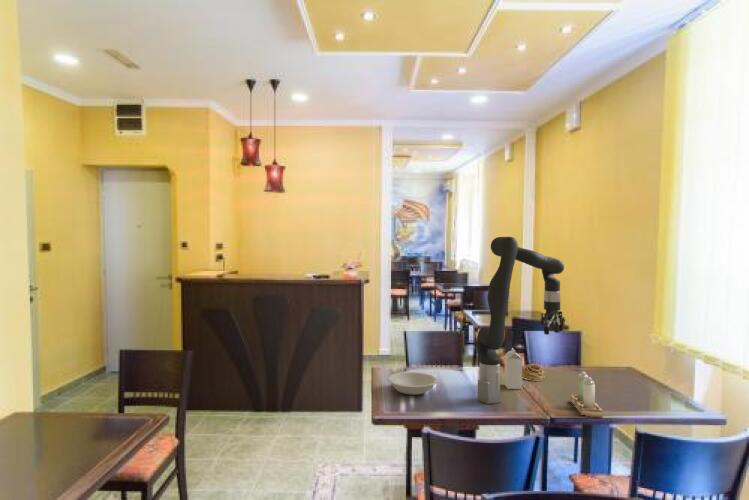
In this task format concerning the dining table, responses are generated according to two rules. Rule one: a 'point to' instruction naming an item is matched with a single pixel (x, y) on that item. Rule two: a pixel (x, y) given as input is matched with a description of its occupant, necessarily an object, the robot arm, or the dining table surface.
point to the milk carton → (513, 370)
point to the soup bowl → (412, 382)
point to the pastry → (533, 372)
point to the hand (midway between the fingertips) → (551, 333)
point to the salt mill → (589, 394)
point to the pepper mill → (581, 385)
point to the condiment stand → (586, 411)
